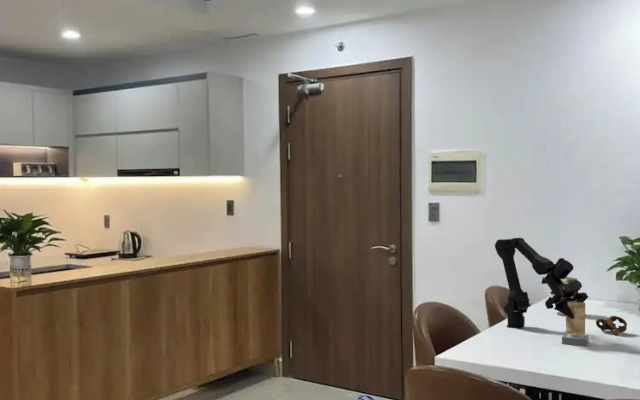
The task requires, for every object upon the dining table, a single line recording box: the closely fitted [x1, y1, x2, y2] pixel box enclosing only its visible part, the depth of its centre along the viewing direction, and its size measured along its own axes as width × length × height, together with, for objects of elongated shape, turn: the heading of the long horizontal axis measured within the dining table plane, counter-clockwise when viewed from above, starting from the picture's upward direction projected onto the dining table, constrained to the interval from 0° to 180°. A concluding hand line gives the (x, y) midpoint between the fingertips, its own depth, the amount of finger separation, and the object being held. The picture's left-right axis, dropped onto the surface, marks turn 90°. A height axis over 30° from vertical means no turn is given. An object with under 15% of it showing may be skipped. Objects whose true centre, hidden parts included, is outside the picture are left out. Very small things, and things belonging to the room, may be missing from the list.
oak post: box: [565, 301, 586, 336], centre depth 259 cm, size 5×5×12 cm
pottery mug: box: [595, 315, 628, 336], centre depth 276 cm, size 12×10×8 cm
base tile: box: [561, 332, 590, 347], centre depth 259 cm, size 9×9×3 cm
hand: (578, 317), depth 258 cm, fingers closed on oak post, 5 cm apart
